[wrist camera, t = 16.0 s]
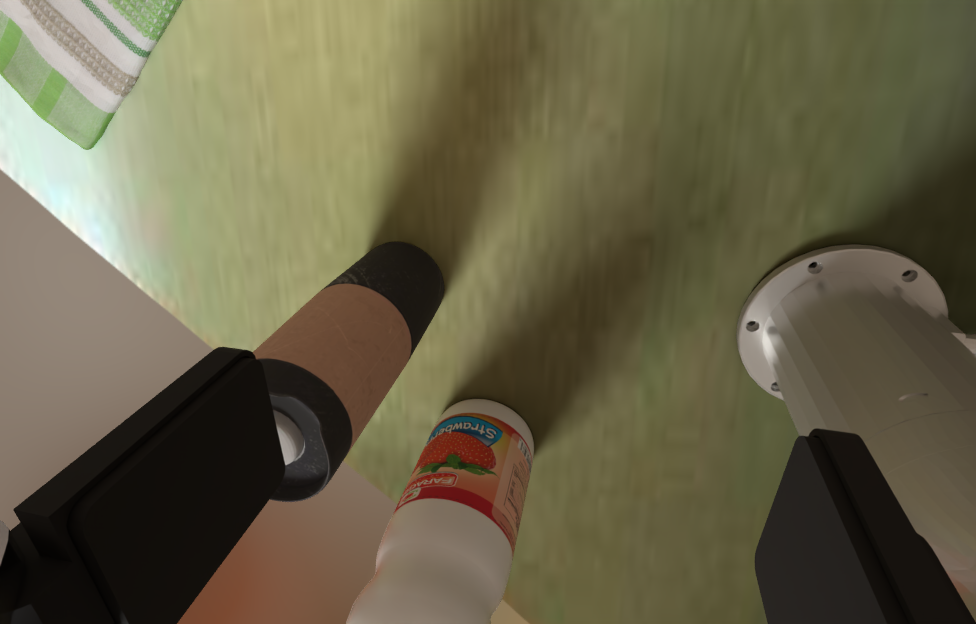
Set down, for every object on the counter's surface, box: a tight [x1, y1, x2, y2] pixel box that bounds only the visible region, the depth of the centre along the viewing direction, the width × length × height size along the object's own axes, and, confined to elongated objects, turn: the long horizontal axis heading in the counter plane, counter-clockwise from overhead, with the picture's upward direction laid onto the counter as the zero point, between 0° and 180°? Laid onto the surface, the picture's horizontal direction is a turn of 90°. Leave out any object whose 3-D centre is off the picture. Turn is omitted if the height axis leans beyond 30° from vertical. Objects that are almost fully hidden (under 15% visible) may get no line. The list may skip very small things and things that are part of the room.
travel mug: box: [252, 242, 444, 502], centre depth 35 cm, size 8×8×20 cm
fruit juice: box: [346, 399, 534, 624], centre depth 38 cm, size 9×9×28 cm
